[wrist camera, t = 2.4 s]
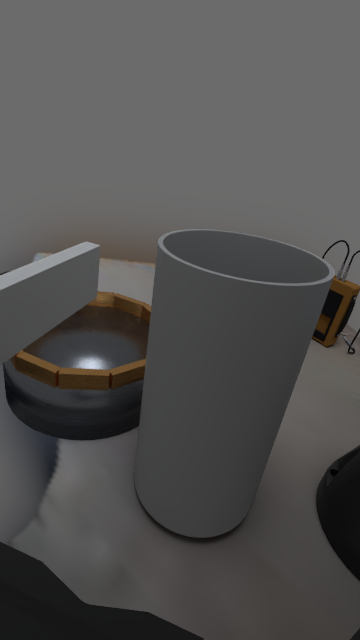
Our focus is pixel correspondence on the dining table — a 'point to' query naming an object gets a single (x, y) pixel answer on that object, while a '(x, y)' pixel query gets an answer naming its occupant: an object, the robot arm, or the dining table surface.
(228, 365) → the cylinder vase
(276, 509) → the dining table surface
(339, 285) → the multimeter
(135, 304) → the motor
